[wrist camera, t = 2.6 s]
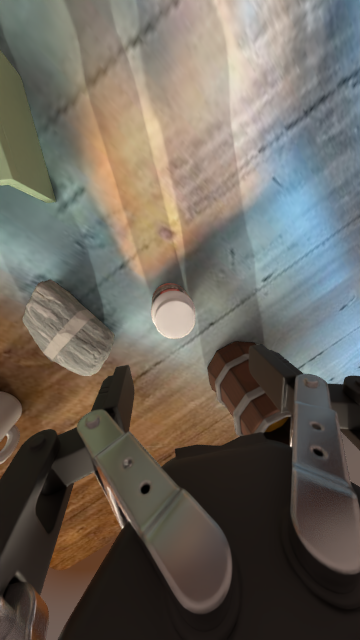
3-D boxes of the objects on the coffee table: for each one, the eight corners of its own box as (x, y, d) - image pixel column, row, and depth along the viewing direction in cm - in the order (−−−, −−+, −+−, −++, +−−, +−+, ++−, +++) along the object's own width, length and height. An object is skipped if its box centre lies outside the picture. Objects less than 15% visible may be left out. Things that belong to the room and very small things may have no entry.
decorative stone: (129, 332, 32) (124, 349, 27) (90, 372, 34) (77, 396, 28) (59, 276, 28) (35, 282, 22) (18, 324, 30) (-14, 341, 24)
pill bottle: (172, 275, 30) (180, 284, 21) (194, 302, 32) (210, 322, 23) (144, 298, 31) (139, 318, 21) (167, 323, 33) (172, 352, 23)
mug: (196, 361, 36) (224, 431, 21) (255, 329, 35) (323, 381, 21) (229, 416, 41) (268, 501, 27) (280, 389, 40) (348, 462, 26)
